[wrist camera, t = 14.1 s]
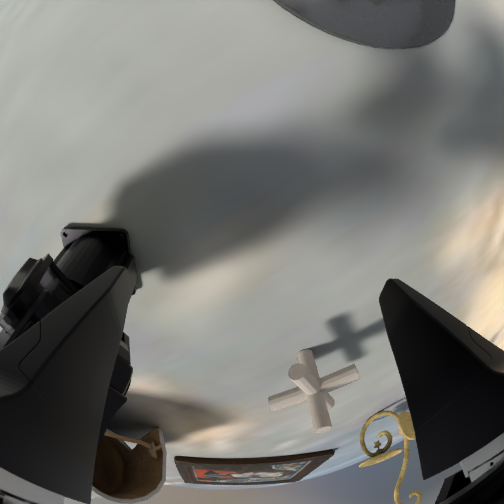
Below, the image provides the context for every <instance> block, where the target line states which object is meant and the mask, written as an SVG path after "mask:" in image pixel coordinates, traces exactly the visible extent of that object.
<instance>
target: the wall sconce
mask: <svg viewBox="0 0 504 504" xmlns="http://www.w3.org/2000/svg"><path fill="white" fill-rule="evenodd" d="M382 415H390V416H392V417H394V418H395V419H396V420H397V421H398V427H399V433H402V434H403V437H404V446H405V448H404V461H403V465H402V469H401V472H400V476H399V479H398V482H397V484H396V488H395V492H394V500H395V503H396V504H402V503H401V502H400V500H399V489H400V486H401V483H402V480H403V477H404V474H405V471H406V467H407V463H408V458H409V439H410V440H413V439H416V438H415V432H414V428H413V423H412V419H411V415H410V412H407V411H404V412H402V413H401V414H400V415H398V414H397V413H395V412H392V411H381V412H378V413H376V414H375V415H373V416H372V417H371V418H370V419H368V421H367V422H366V423H365V424H364V426H363V428H362V431H361V434H360V444H361V447H362V450H363V451H364V453H365V454H366V455H368V456H370V457H372V458H370V459H368V460H366V461H364V462H363V463H361V464H360V465H359V467H365V466H369V465H372V464H376V463H379V462H381V461H384V460H386V459H388V458H391V457H393V456H395V455H396V454H398V453H400V452H401V451H402V450H403V449H400V448H399V449H394V450H391V451H388V452H385V451H386V450H387V449H388V448H389V447H390V446H391V444H392V435H391V434H390V432H388V431H382V432H380V433H379V434H378V436H377V437H381V436H382V435H383V434H385V435H386V436H387V438H388V443H387V445H386V446H385V447H384V448H383V449H379V446H380V445H381V443H379V440H378V441H377V442H374V443H375V447H374V448H376V447H377V448H378V450H377V451H376V453H371V452H369V451H368V449H367V448H366V445H365V442H364V435H365V431H366V429H367V427H368V425H369V424H370V423H371V422H372V421H373V420H374V419H376V418H377V417H379V416H382ZM384 452H385V453H384ZM413 495H417V496H418V499H417V502H416V503H415V504H419V503H420V502H421V500H422V494H421V493H420V492H419V491H413V492H412V493H411V494H410V496H409V498H411V497H412V496H413Z"/></svg>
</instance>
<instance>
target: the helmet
mask: <svg viewBox="0 0 504 504" xmlns="http://www.w3.org/2000/svg"><path fill="white" fill-rule="evenodd" d="M124 441H128V442H132V443H137V445H136V447H135V448H134V449H132V450H131V448H130V447H129V446H128V445H127V444H126V443H125V442H124ZM96 449H97V451H96V457H95V465H94V473H93V482H92V492H91V498H96V497H103V498H106V499H107V500H111V501H114V502H118V503H136V502H140V501H145V500H148V499H149V498H150V497H152V496H153V495H155V494H156V493H158V492H159V490H160V489H161V487H162V485H163V484H164V482H165V481H166V448H165V442H164V437H163V432H162V430H161V429H160V428H155V429H153V430H151V431H150V432H149V433H148V434H147V435H145V436H144V437H143V438H142V439H141V440H137V439H133V438H129V437H124V436H121V435H117V434H115V433H114V432H112V431H111V430H109V429H106V432H105V434H104V437H103V439H102V442H101V443H100V445H98V446H97V448H96Z"/></svg>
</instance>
